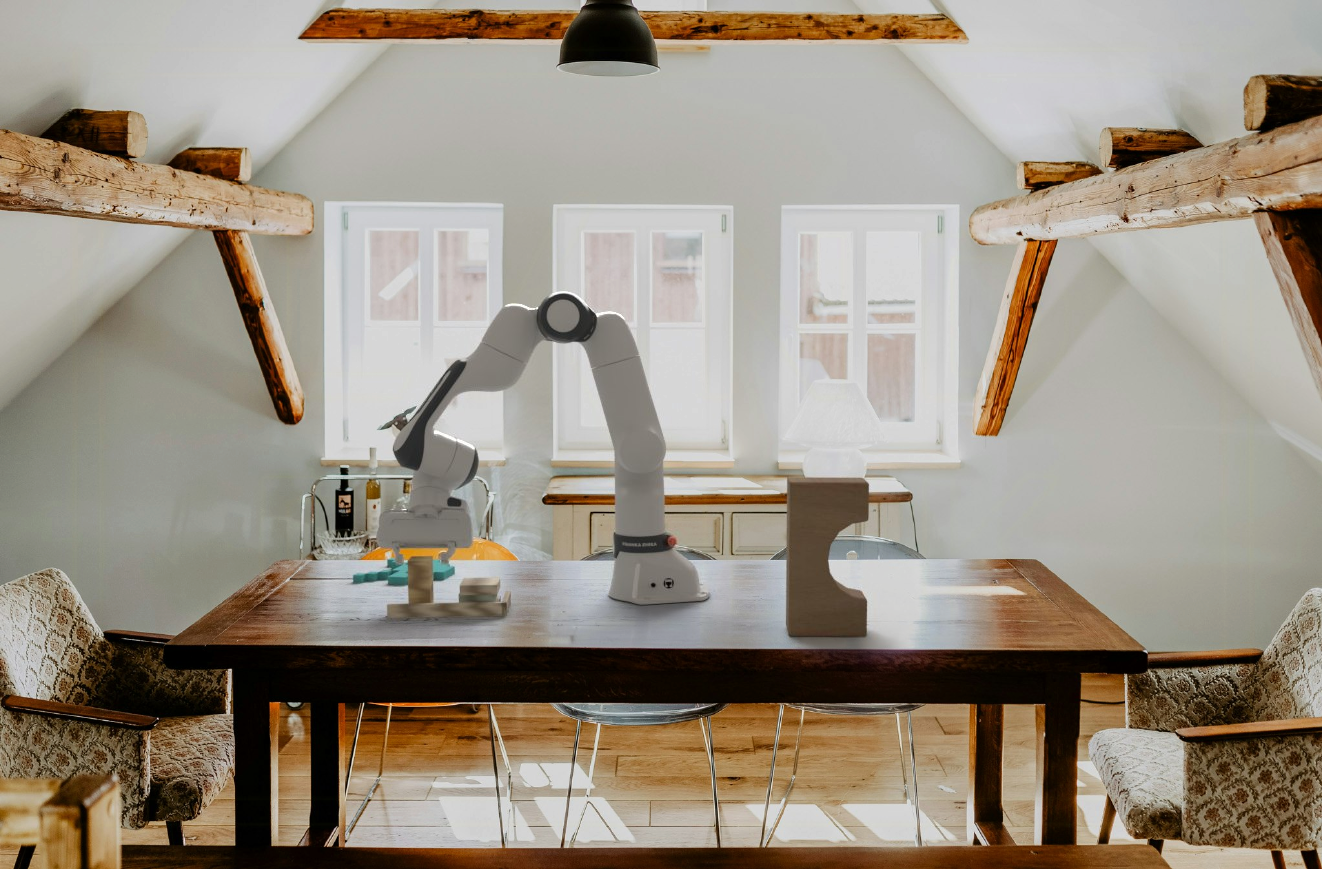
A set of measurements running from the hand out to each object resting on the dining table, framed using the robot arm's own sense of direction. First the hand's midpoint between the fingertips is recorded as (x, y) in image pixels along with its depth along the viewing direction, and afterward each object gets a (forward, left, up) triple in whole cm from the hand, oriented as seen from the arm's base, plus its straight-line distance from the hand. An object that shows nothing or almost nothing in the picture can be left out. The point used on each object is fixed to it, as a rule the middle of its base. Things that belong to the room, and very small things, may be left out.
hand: (421, 563), depth 219 cm
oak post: (0, +3, -9) cm, 10 cm away
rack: (-6, +3, -10) cm, 13 cm away
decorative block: (-81, +20, -11) cm, 84 cm away
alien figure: (+9, -36, -11) cm, 38 cm away
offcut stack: (-12, +3, -9) cm, 16 cm away
